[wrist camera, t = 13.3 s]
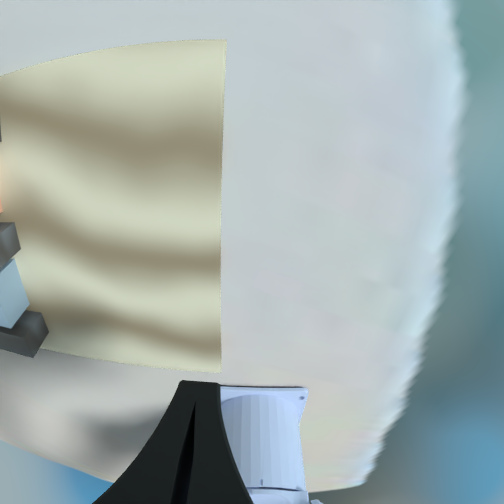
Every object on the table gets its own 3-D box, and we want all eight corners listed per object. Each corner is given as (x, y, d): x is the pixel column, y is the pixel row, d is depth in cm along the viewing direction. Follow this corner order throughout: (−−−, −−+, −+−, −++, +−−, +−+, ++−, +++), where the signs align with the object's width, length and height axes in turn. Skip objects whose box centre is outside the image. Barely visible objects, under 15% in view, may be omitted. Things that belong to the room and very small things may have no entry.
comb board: (221, 368, 23) (218, 404, 20) (-3, 333, 23) (-20, 357, 20) (226, 41, 13) (220, 27, 10) (-60, 102, 12) (-91, 111, 9)
